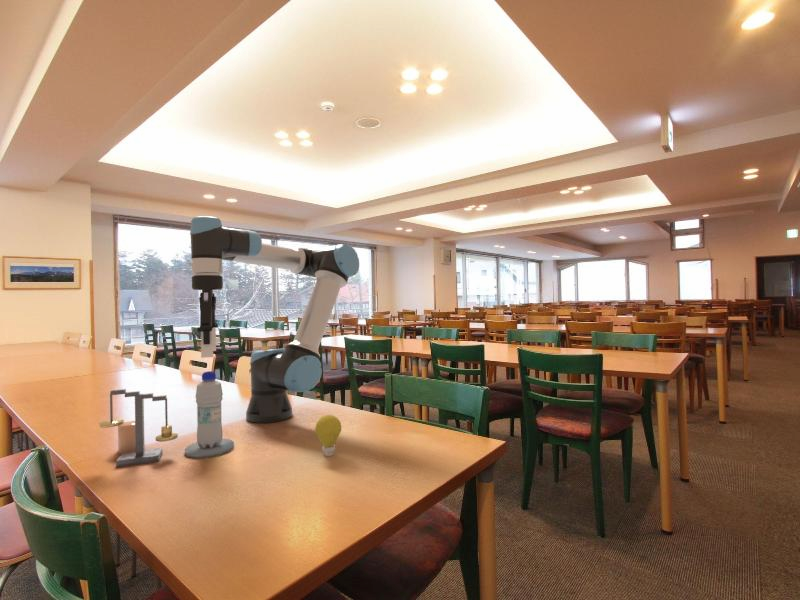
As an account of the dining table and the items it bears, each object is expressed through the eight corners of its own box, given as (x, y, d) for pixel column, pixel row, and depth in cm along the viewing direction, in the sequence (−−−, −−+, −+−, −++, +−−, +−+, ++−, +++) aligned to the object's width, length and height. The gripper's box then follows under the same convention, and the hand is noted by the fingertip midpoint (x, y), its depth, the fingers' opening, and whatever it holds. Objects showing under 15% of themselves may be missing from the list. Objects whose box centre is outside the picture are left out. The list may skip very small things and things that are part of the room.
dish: (234, 439, 120) (234, 436, 120) (233, 454, 109) (233, 450, 109) (187, 445, 116) (187, 442, 116) (181, 461, 105) (181, 457, 105)
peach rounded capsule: (146, 444, 118) (146, 419, 118) (141, 451, 112) (141, 425, 112) (121, 447, 116) (121, 422, 116) (115, 454, 110) (115, 428, 110)
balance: (179, 451, 112) (178, 383, 112) (176, 459, 106) (175, 387, 106) (104, 460, 106) (102, 389, 106) (96, 469, 100) (95, 394, 100)
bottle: (213, 450, 109) (212, 373, 109) (190, 449, 110) (189, 373, 110) (228, 442, 115) (227, 369, 116) (207, 440, 117) (206, 369, 117)
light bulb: (346, 451, 110) (345, 412, 110) (334, 460, 104) (333, 420, 104) (323, 448, 112) (323, 411, 112) (310, 457, 106) (309, 417, 106)
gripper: (196, 277, 123) (198, 349, 123) (186, 272, 100) (188, 361, 100) (224, 277, 126) (225, 348, 126) (220, 272, 102) (222, 359, 103)
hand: (209, 354), depth 113 cm, fingers open, 13 cm apart
